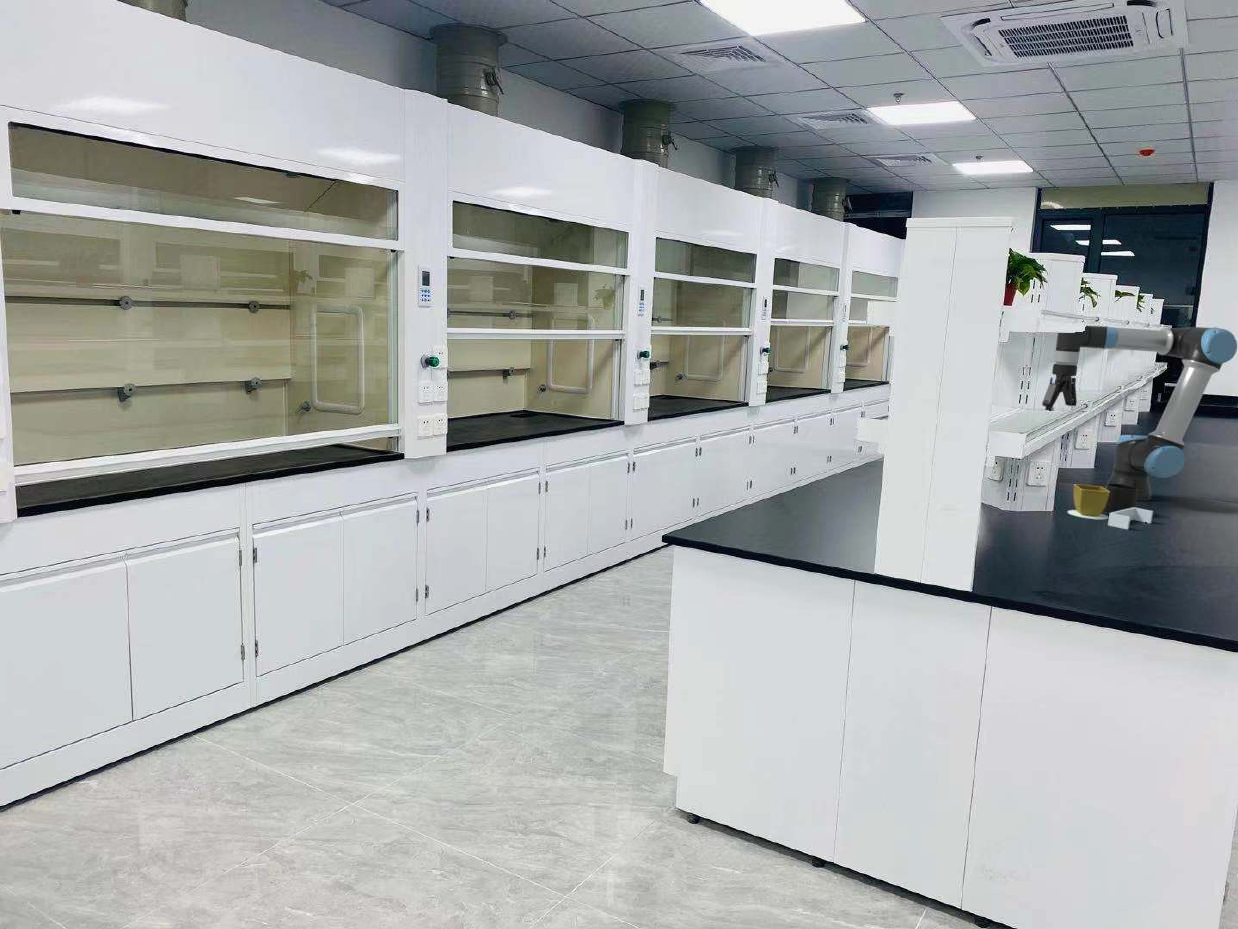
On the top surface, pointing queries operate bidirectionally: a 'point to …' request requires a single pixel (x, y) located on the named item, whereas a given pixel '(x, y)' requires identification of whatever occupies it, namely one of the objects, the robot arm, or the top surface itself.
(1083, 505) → the flower pot
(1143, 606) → the top surface
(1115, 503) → the mug
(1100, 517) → the pad
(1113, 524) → the bracket
